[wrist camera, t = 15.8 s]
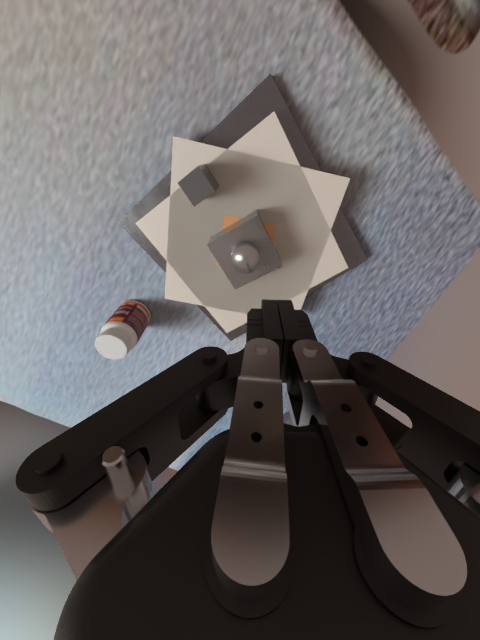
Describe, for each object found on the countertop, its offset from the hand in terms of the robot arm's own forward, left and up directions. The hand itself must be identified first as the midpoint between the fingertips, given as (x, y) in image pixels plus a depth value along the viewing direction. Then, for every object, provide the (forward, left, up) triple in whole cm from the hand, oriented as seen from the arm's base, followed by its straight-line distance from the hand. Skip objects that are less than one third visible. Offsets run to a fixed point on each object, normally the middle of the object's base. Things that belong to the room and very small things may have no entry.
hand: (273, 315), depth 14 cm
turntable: (-1, +3, -21) cm, 21 cm away
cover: (-1, +3, -19) cm, 19 cm away
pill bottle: (0, +23, -22) cm, 32 cm away
